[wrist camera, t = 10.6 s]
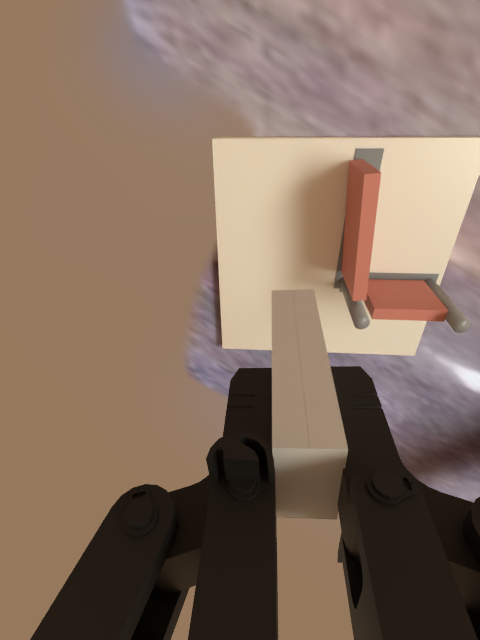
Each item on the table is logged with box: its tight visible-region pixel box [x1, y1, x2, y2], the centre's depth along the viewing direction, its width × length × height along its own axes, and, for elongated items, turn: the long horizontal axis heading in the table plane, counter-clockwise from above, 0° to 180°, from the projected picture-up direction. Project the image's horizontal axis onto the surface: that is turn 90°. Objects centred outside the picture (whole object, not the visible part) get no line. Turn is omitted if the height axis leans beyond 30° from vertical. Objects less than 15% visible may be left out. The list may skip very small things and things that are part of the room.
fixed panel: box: [364, 279, 448, 321], centre depth 34 cm, size 1×7×6 cm, turn 91°
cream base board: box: [212, 137, 480, 356], centre depth 34 cm, size 24×24×9 cm
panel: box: [342, 159, 381, 301], centre depth 31 cm, size 11×1×6 cm, turn 6°
